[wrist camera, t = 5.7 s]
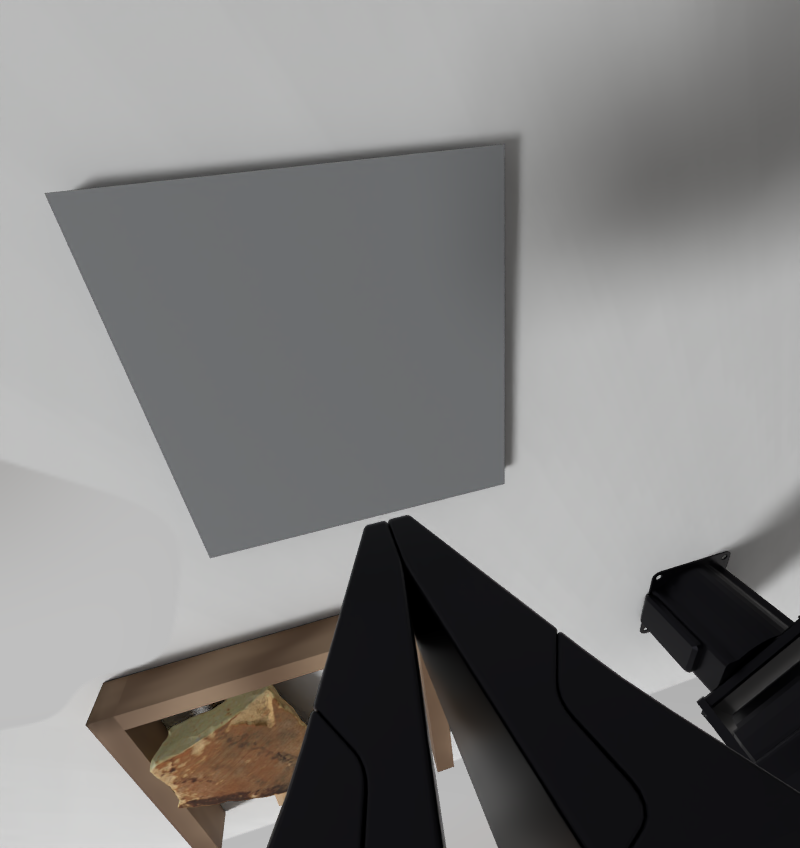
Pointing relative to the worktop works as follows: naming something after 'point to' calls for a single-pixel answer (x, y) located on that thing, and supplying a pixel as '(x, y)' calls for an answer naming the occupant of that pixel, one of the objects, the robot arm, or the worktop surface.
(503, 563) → the worktop surface
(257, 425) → the charcoal mat
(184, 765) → the shard
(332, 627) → the walnut open-sided frame
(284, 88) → the worktop surface
